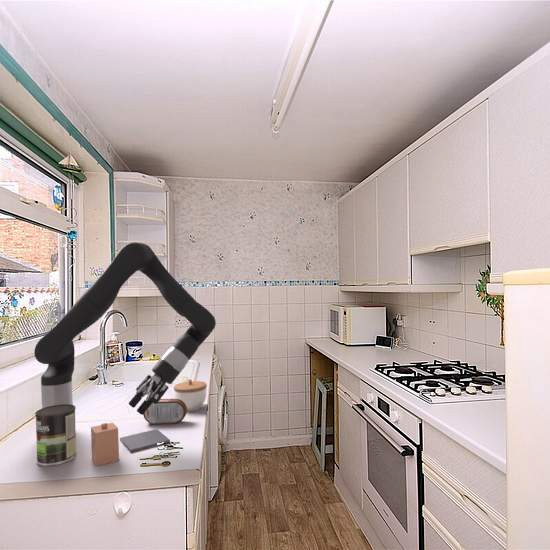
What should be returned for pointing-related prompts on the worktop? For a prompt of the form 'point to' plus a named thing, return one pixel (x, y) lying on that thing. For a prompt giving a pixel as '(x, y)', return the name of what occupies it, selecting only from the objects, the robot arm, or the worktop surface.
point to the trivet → (143, 440)
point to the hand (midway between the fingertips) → (134, 409)
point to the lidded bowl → (191, 394)
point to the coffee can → (55, 434)
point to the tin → (166, 412)
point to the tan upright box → (104, 443)
